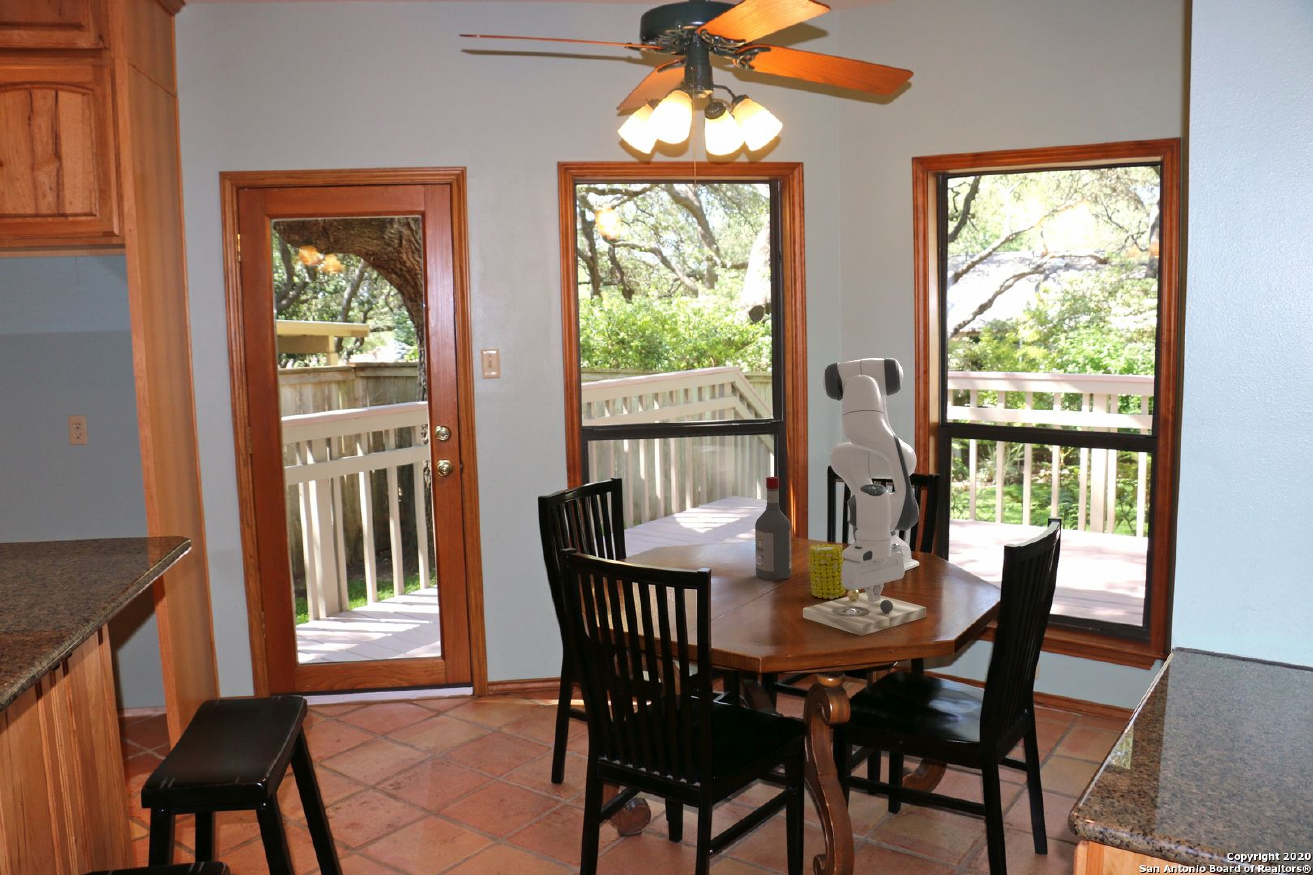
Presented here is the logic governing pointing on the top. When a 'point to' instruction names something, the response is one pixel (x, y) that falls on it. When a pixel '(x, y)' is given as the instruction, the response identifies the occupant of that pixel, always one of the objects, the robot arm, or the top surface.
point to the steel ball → (851, 611)
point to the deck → (863, 614)
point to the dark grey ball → (886, 606)
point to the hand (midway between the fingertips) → (874, 600)
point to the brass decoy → (853, 595)
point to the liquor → (773, 538)
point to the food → (826, 571)
